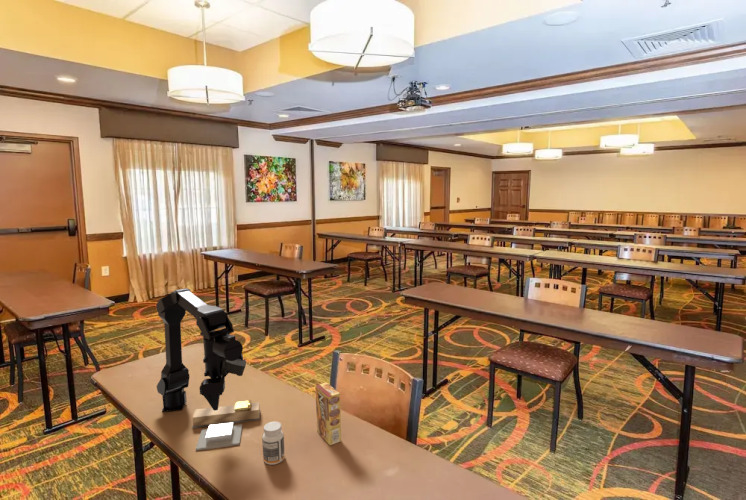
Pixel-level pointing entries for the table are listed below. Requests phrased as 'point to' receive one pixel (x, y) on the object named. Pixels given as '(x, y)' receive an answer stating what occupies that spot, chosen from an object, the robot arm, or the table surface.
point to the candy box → (328, 413)
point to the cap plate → (219, 433)
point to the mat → (234, 441)
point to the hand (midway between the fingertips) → (218, 402)
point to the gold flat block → (243, 405)
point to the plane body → (225, 415)
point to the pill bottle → (273, 443)
